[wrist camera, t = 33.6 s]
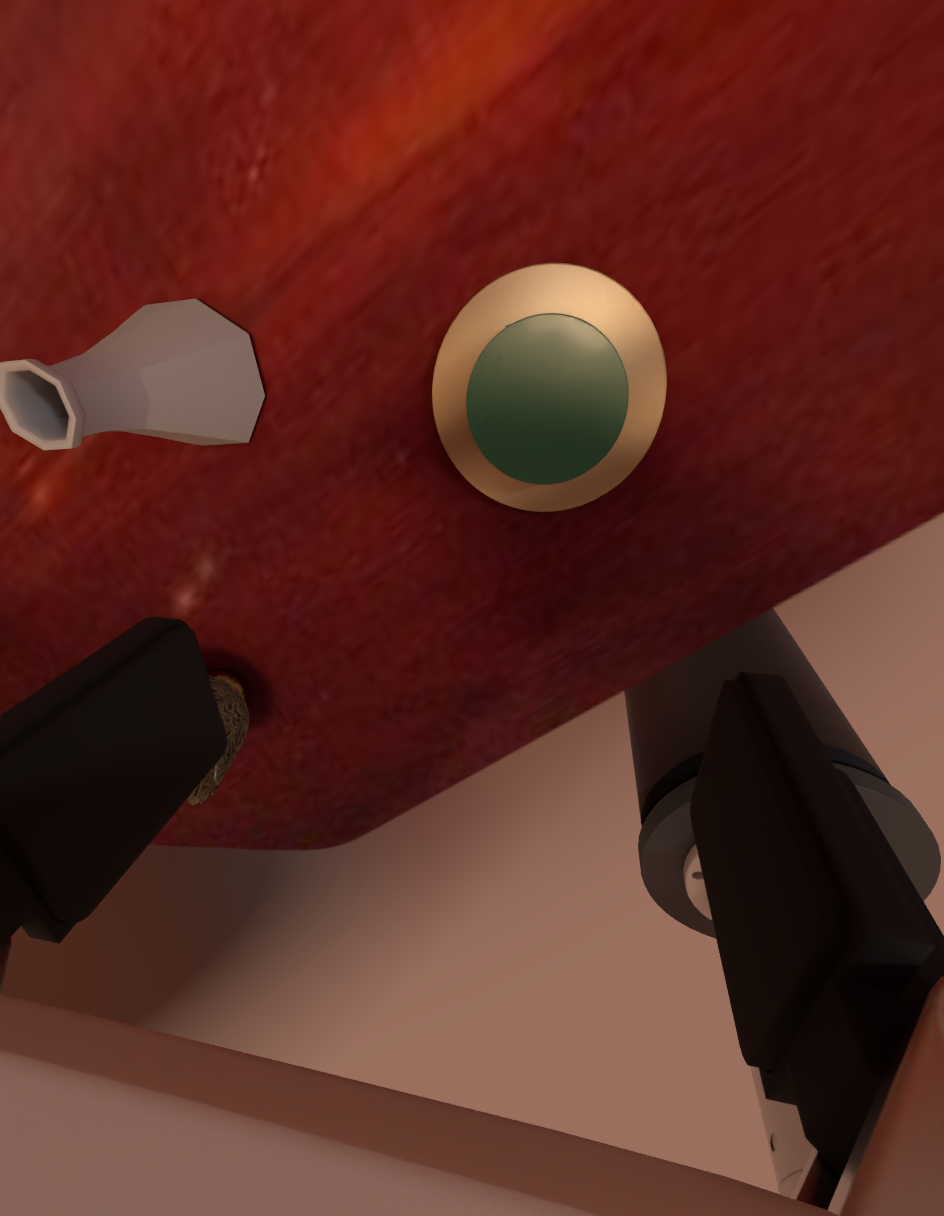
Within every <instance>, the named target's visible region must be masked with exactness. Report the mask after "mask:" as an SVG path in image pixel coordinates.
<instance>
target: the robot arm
mask: <svg viewBox="0 0 944 1216" xmlns="http://www.w3.org/2000/svg"><path fill="white" fill-rule="evenodd" d="M226 747H227V734H226V731H225V728H224V724H223V721H222V718H221V715H220V712H219V708H218V705H217V702H216V699H215V696H214V692H213V689H212V686H211V683H210V680H209V676H208V673H207V670H206V667H205V663H204V660H203V657H202V654H201V651H200V647H199V644H198V641H197V638H196V635H195V633H194V631H193V630H192V629H190V628H189V627H188V625H187V624H186V623H185V622H184V621H182V620H180V619H171V618H160V617H148V618H146V619H144V620H142V621H141V622H139V623H138V624H136V625H135V626H133V627H132V628H130V629H129V630H127V631H126V632H124V633H123V634H121V635H120V636H118V637H117V638H115V639H114V640H112V641H111V642H109V643H108V644H106V645H105V646H103V647H102V648H100V649H99V650H97V651H96V652H95V653H93V654H92V655H90V656H89V657H87V658H86V659H84V660H83V661H81V662H80V663H78V664H77V665H75V666H74V667H72V668H71V669H69V670H68V671H66V672H65V673H63V674H62V675H60V676H59V677H57V678H56V679H54V680H53V681H51V682H50V683H48V684H47V685H45V686H44V687H43V688H41V689H40V690H38V691H37V692H35V693H34V694H32V695H31V696H29V697H28V698H26V699H25V700H23V701H22V702H20V703H19V704H17V705H16V706H14V707H13V708H11V709H10V710H8V711H7V712H5V713H4V714H2V715H1V716H0V1216H944V936H943V934H942V932H941V930H940V929H939V927H938V926H937V924H936V922H935V920H934V919H933V917H932V915H931V914H930V912H929V910H928V909H927V907H926V905H925V903H924V902H923V900H922V898H921V897H920V895H919V893H918V892H917V890H916V888H915V886H914V885H913V883H912V881H911V880H910V878H909V876H908V875H907V873H906V871H905V869H904V868H903V866H902V864H901V863H900V861H899V859H898V858H897V856H896V854H895V853H894V851H893V849H892V847H891V846H890V844H889V842H888V841H887V839H886V837H885V836H884V834H883V832H882V831H881V829H880V827H879V825H878V824H877V822H876V820H875V819H874V817H873V815H872V814H871V812H870V810H869V809H868V807H867V805H866V803H865V802H864V800H863V798H862V797H861V795H860V793H859V792H858V790H857V788H856V786H855V785H854V783H853V782H852V780H851V779H850V778H849V777H848V775H847V774H846V773H845V772H843V771H841V770H840V769H836V768H835V767H834V765H833V763H832V761H831V760H830V758H829V756H828V754H827V753H826V751H825V749H824V747H823V746H822V744H821V742H820V740H819V739H818V737H817V735H816V733H815V732H814V730H813V728H812V726H811V724H810V723H809V721H808V719H807V717H806V716H805V714H804V712H803V710H802V709H801V707H800V705H799V703H798V702H797V700H796V698H795V696H794V695H793V693H792V691H791V689H790V688H789V686H788V684H787V682H786V681H785V679H784V678H783V677H782V676H779V675H768V674H758V673H747V672H741V673H739V674H738V675H737V677H736V679H735V681H734V680H726V681H725V682H724V683H723V685H722V688H721V692H720V695H719V699H718V703H717V706H716V710H715V714H714V717H713V721H712V724H711V728H710V732H709V735H708V739H707V743H706V746H705V750H704V754H703V757H702V761H701V764H700V768H699V772H698V775H697V779H696V783H695V786H694V790H693V794H692V797H691V803H690V818H691V824H692V829H693V833H694V838H695V843H696V844H695V845H694V846H693V847H692V848H691V850H690V851H689V853H688V855H687V857H686V859H685V863H684V868H683V874H684V882H685V887H686V890H687V894H688V897H689V898H690V900H691V901H692V903H693V905H694V906H695V907H696V908H697V909H698V910H699V911H700V912H701V913H702V914H703V915H704V916H706V917H707V918H709V919H710V920H712V921H713V925H714V930H715V934H716V939H717V944H718V948H719V953H720V957H721V961H722V967H723V971H724V975H725V980H726V985H727V989H728V994H729V999H730V1003H731V1008H732V1012H733V1017H734V1021H735V1026H736V1031H737V1035H738V1040H739V1044H740V1048H741V1052H742V1055H743V1057H744V1060H745V1061H746V1063H747V1065H749V1066H751V1071H752V1075H753V1079H754V1084H755V1088H756V1092H757V1097H758V1101H759V1105H760V1109H761V1114H762V1118H763V1122H764V1126H765V1131H766V1135H767V1139H768V1144H769V1148H770V1153H771V1157H772V1161H773V1166H774V1170H775V1174H776V1178H777V1182H778V1187H779V1191H780V1194H777V1193H773V1192H771V1191H768V1190H765V1189H761V1188H759V1187H756V1186H752V1185H749V1184H746V1183H743V1182H740V1181H737V1180H734V1179H731V1178H728V1177H725V1176H721V1175H718V1174H714V1173H710V1172H706V1171H703V1170H699V1169H696V1168H692V1167H688V1166H685V1165H680V1164H677V1163H673V1162H670V1161H666V1160H663V1159H659V1158H655V1157H651V1156H647V1155H644V1154H640V1153H637V1152H633V1151H629V1150H626V1149H622V1148H618V1147H615V1146H611V1145H607V1144H604V1143H600V1142H596V1141H593V1140H589V1139H585V1138H582V1137H578V1136H574V1135H570V1134H566V1133H563V1132H559V1131H556V1130H552V1129H548V1128H544V1127H540V1126H536V1125H532V1124H528V1123H524V1122H520V1121H516V1120H512V1119H508V1118H504V1117H500V1116H496V1115H492V1114H488V1113H484V1112H480V1111H476V1110H472V1109H468V1108H464V1107H460V1106H456V1105H452V1104H448V1103H444V1102H440V1101H436V1100H432V1099H428V1098H424V1097H420V1096H416V1095H412V1094H408V1093H404V1092H400V1091H396V1090H392V1089H388V1088H384V1087H380V1086H376V1085H372V1084H368V1083H364V1082H360V1081H356V1080H352V1079H348V1078H344V1077H340V1076H336V1075H332V1074H328V1073H324V1072H320V1071H316V1070H312V1069H308V1068H304V1067H300V1066H296V1065H292V1064H288V1063H284V1062H279V1061H275V1060H272V1059H267V1058H263V1057H259V1056H255V1055H251V1054H247V1053H243V1052H238V1051H235V1050H231V1049H227V1048H223V1047H218V1046H214V1045H210V1044H206V1043H202V1042H198V1041H194V1040H190V1039H186V1038H182V1037H178V1036H173V1035H169V1034H165V1033H161V1032H157V1031H153V1030H149V1029H145V1028H141V1027H136V1026H132V1025H128V1024H124V1023H120V1022H116V1021H111V1020H108V1019H104V1018H100V1017H95V1016H91V1015H87V1014H83V1013H79V1012H75V1011H71V1010H67V1009H62V1008H58V1007H54V1006H50V1005H46V1004H41V1003H37V1002H33V1001H29V1000H25V999H20V998H16V997H12V996H7V995H4V994H1V990H2V985H3V980H4V976H5V971H6V966H7V961H8V956H9V951H10V947H11V936H12V935H13V934H14V933H15V932H16V930H17V929H18V928H19V927H20V926H22V927H23V929H24V930H25V931H26V933H27V934H28V935H29V937H32V938H36V939H42V940H45V941H50V942H55V943H60V942H61V941H62V940H63V939H64V937H65V936H66V935H67V934H68V933H69V931H70V930H71V929H72V928H73V927H74V925H75V924H76V923H77V922H80V921H82V920H84V919H85V918H86V917H88V916H89V915H90V914H91V912H93V910H94V909H95V908H96V907H97V906H98V905H99V903H100V902H101V901H102V900H103V899H104V897H105V896H106V895H107V894H108V892H109V891H110V890H111V889H112V888H113V886H114V885H115V884H116V883H117V882H118V881H119V879H120V878H121V877H122V875H124V873H125V872H126V871H127V870H128V868H129V867H130V866H131V865H132V864H133V863H134V861H135V860H136V859H137V858H138V857H139V855H140V854H141V853H142V852H143V850H144V849H145V848H146V847H147V845H149V843H150V842H151V841H152V840H153V839H154V837H155V836H156V835H157V834H158V833H159V831H160V830H161V829H162V828H163V827H164V825H165V824H166V823H167V822H168V821H169V819H170V818H171V817H172V816H173V815H174V813H175V812H176V811H177V810H178V809H179V807H180V806H181V805H182V804H183V803H184V801H185V800H186V799H187V798H188V797H189V795H190V794H191V793H192V792H193V791H194V789H195V788H196V787H197V786H198V785H199V783H200V782H201V781H202V780H203V779H204V777H205V776H206V775H207V774H208V773H209V771H210V770H211V769H212V768H213V767H214V765H215V764H216V763H217V762H218V761H219V759H220V758H221V757H222V756H223V754H224V752H225V750H226Z"/></svg>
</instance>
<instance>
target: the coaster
mask: <svg viewBox="0 0 944 1216" xmlns="http://www.w3.org/2000/svg"><path fill="white" fill-rule="evenodd" d="M547 313H559V314H566V315H571V316H574V317H577V318H580V319H582V320H584V321H586V322H588V323H589V324H591V325H593V326H594V327H595V328H597V329H598V330H599V331H600V332H602V333H603V335H604V336H605V337H606V338H607V339H608V340H609V341H610V342H611V344H612V345H613V346H614V348H615V349H616V351H617V353H618V354H619V356H620V358H621V360H622V363H623V366H624V369H625V371H626V376H627V381H628V392H629V398H628V409H627V414H626V419H625V422H624V425H623V428H622V430H621V433H620V435H619V437H618V439H617V441H616V442H615V444H614V446H613V447H612V449H611V450H610V451H609V452H608V454H607V455H606V456H605V457H604V458H603V459H602V460H601V461H600V462H599V463H598V464H597V465H596V466H594V467H593V468H592V469H591V470H589V471H588V472H586V473H584V474H583V475H581V476H579V477H576V478H574V479H572V480H569V481H566V482H562V483H557V484H550V485H538V484H530V483H526V482H522V481H519V480H516V479H513V478H511V477H509V476H508V475H506V474H504V473H503V472H501V471H500V470H498V469H497V468H496V467H495V466H493V465H492V464H491V463H490V462H489V461H488V460H487V458H486V457H485V456H484V455H483V454H482V452H481V451H480V449H479V448H478V446H477V444H476V442H475V440H474V438H473V436H472V433H471V430H470V427H469V423H468V418H467V409H466V396H467V389H468V383H469V379H470V376H471V372H472V370H473V368H474V365H475V363H476V361H477V359H478V357H479V356H480V354H481V352H482V351H483V350H484V348H485V347H486V346H487V344H488V343H489V342H490V341H491V340H492V339H493V338H494V337H495V336H496V335H497V334H498V333H499V332H501V331H502V330H503V329H505V328H506V327H505V326H506V325H508V324H510V325H511V324H513V323H514V322H516V321H519V320H521V319H524V318H526V317H530V316H534V315H538V314H547ZM666 388H667V377H666V364H665V358H664V352H663V348H662V345H661V342H660V339H659V336H658V333H657V331H656V329H655V327H654V325H653V323H652V321H651V319H650V317H649V315H648V314H647V313H646V311H645V310H644V308H643V307H642V305H641V304H640V303H639V302H638V301H637V299H636V298H635V297H634V296H633V295H632V294H631V293H630V292H629V291H628V290H627V289H625V288H624V287H623V286H622V285H620V284H619V283H618V282H616V281H615V280H613V279H612V278H610V277H608V276H606V275H604V274H603V273H601V272H598V271H596V270H593V269H590V268H587V267H585V266H580V265H575V264H569V263H543V264H534V265H530V266H527V267H523V268H519V269H516V270H514V271H512V272H509V273H507V274H505V275H503V276H501V277H499V278H497V279H496V280H494V281H493V282H491V283H489V284H488V285H486V286H485V287H484V288H483V289H482V290H480V291H479V292H478V293H477V294H476V295H474V296H473V297H472V298H471V299H470V301H469V302H468V303H467V304H466V305H465V306H464V307H463V308H462V309H461V311H460V312H459V314H458V315H457V317H456V318H455V319H454V321H453V322H452V324H451V326H450V328H449V330H448V331H447V333H446V335H445V337H444V339H443V342H442V345H441V347H440V350H439V353H438V356H437V360H436V364H435V369H434V376H433V384H432V402H433V411H434V418H435V422H436V426H437V430H438V433H439V436H440V439H441V441H442V444H443V446H444V448H445V450H446V452H447V454H448V456H449V458H450V459H451V461H452V462H453V464H454V465H455V466H456V468H457V469H458V471H459V472H460V473H461V474H462V475H463V476H464V477H465V478H466V480H467V481H469V482H470V483H471V484H472V485H473V486H474V487H475V488H476V489H478V490H479V491H481V492H482V493H484V494H485V495H487V496H488V497H490V498H492V499H494V500H496V501H498V502H500V503H502V504H505V505H507V506H510V507H513V508H517V509H522V510H526V511H536V512H553V511H560V510H567V509H571V508H574V507H578V506H581V505H584V504H586V503H588V502H591V501H593V500H595V499H597V498H599V497H600V496H602V495H604V494H606V493H607V492H609V491H610V490H611V489H613V488H614V487H616V486H617V485H618V484H620V483H621V482H622V481H623V480H624V479H625V478H626V477H627V476H628V475H629V474H630V473H631V472H632V471H633V470H634V468H635V467H636V466H637V465H638V463H639V462H640V461H641V460H642V458H643V456H644V455H645V453H646V452H647V450H648V449H649V447H650V445H651V443H652V441H653V439H654V437H655V435H656V433H657V430H658V427H659V424H660V421H661V418H662V414H663V410H664V405H665V399H666Z"/></svg>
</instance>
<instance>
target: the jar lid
mask: <svg viewBox="0 0 944 1216" xmlns="http://www.w3.org/2000/svg"><path fill="white" fill-rule="evenodd" d="M505 327H506V328H505V329H503V330H502V331H501V332H499V333H498V334H497V335H496V336H495V337H494V338H493V339H492V340H491V341H490V342H489V343H488V344H487V346H486V347H485V348H484V350H483V351H482V352H481V354H480V356H479V357H478V359H477V361H476V363H475V365H474V368H473V370H472V372H471V376H470V379H469V383H468V389H467V396H466V409H467V418H468V423H469V427H470V430H471V433H472V436H473V438H474V440H475V442H476V444H477V446H478V448H479V449H480V451H481V452H482V454H483V455H484V456H485V457H486V458H487V460H488V461H489V462H490V463H491V464H492V465H493V466H495V467H496V468H497V469H498V470H500V471H501V472H503V473H504V474H506V475H508V476H509V477H511V478H513V479H516V480H519V481H522V482H526V483H530V484H538V485H550V484H557V483H562V482H566V481H569V480H572V479H574V478H576V477H579V476H581V475H583V474H584V473H586V472H588V471H589V470H591V469H592V468H593V467H594V466H596V465H597V464H598V463H599V462H600V461H601V460H602V459H603V458H604V457H605V456H606V455H607V454H608V452H609V451H610V450H611V449H612V447H613V446H614V444H615V442H616V441H617V439H618V437H619V435H620V433H621V430H622V428H623V425H624V422H625V419H626V414H627V409H628V398H629V392H628V381H627V376H626V371H625V369H624V366H623V363H622V360H621V358H620V356H619V354H618V353H617V351H616V349H615V348H614V346H613V345H612V344H611V342H610V341H609V340H608V339H607V338H606V337H605V336H604V335H603V333H602V332H600V331H599V330H598V329H597V328H595V327H594V326H593V325H591V324H589V323H588V322H586V321H584V320H582V319H580V318H577V317H574V316H571V315H566V314H559V313H547V314H538V315H534V316H530V317H526V318H524V319H521V320H519V321H516V322H514V323H513V324H511V325H510V324H508V325H506V326H505Z"/></svg>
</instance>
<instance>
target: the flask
mask: <svg viewBox="0 0 944 1216" xmlns="http://www.w3.org/2000/svg"><path fill="white" fill-rule="evenodd" d="M264 397H265V394H264V390H263V386H262V382H261V379H260V375H259V371H258V367H257V364H256V360H255V356H254V352H253V349H252V345H251V341H250V337H249V334H248V333H247V332H245V331H244V330H242V329H241V328H239V327H238V326H236V325H234V324H233V323H231V322H230V321H228V320H227V319H225V318H224V317H222V316H221V315H219V314H218V313H216V312H215V311H213V310H212V309H210V308H209V307H207V306H206V305H204V304H203V303H201V302H200V301H198V300H197V299H190V300H182V301H174V302H166V303H158V304H150V305H145V306H143V307H142V308H141V309H139V310H138V311H137V312H135V313H134V314H133V315H132V316H131V317H130V318H129V319H127V320H126V321H125V322H124V323H123V324H122V325H121V326H119V327H118V328H117V329H116V330H115V331H114V332H112V333H111V334H109V335H108V336H107V337H105V338H104V339H103V340H101V341H100V342H99V343H97V344H96V345H95V346H93V347H92V348H90V349H89V350H88V351H86V352H85V353H84V354H82V355H79V356H76V357H74V358H71V359H68V360H65V361H63V362H60V363H57V364H55V365H52V366H46V365H44V364H43V363H41V362H40V361H38V360H34V359H26V360H17V361H8V362H0V408H1V410H2V412H3V414H4V416H5V418H6V420H7V422H8V424H9V426H10V428H11V430H12V431H13V432H14V433H16V434H18V435H19V436H21V437H23V438H24V439H26V440H28V441H29V442H31V443H33V444H34V445H36V446H38V447H39V448H41V449H43V450H54V449H69V448H76V447H78V446H79V445H81V442H82V437H84V436H87V435H91V434H95V433H99V432H104V431H123V432H130V433H136V434H143V435H149V436H155V437H162V438H166V439H171V440H176V441H181V442H186V443H190V444H196V445H202V446H203V445H219V444H235V443H249V440H250V437H251V434H252V431H253V429H254V426H255V423H256V420H257V417H258V414H259V412H260V409H261V406H262V403H263V400H264Z"/></svg>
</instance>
